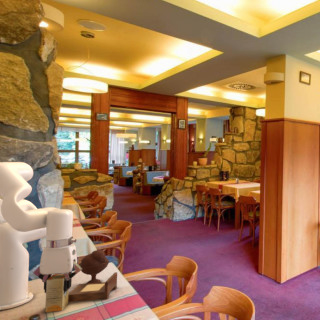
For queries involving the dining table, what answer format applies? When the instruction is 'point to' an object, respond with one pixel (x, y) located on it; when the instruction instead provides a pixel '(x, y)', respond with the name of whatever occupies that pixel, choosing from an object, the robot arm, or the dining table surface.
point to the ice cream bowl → (94, 264)
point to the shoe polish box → (56, 293)
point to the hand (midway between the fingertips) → (57, 289)
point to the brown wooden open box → (93, 290)
